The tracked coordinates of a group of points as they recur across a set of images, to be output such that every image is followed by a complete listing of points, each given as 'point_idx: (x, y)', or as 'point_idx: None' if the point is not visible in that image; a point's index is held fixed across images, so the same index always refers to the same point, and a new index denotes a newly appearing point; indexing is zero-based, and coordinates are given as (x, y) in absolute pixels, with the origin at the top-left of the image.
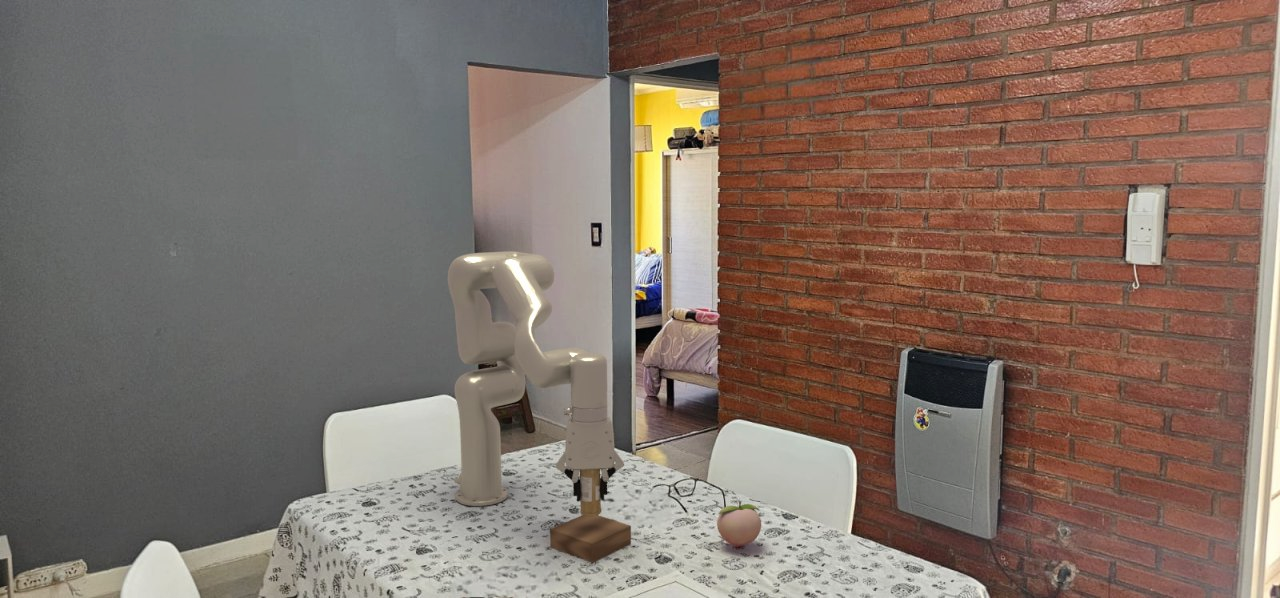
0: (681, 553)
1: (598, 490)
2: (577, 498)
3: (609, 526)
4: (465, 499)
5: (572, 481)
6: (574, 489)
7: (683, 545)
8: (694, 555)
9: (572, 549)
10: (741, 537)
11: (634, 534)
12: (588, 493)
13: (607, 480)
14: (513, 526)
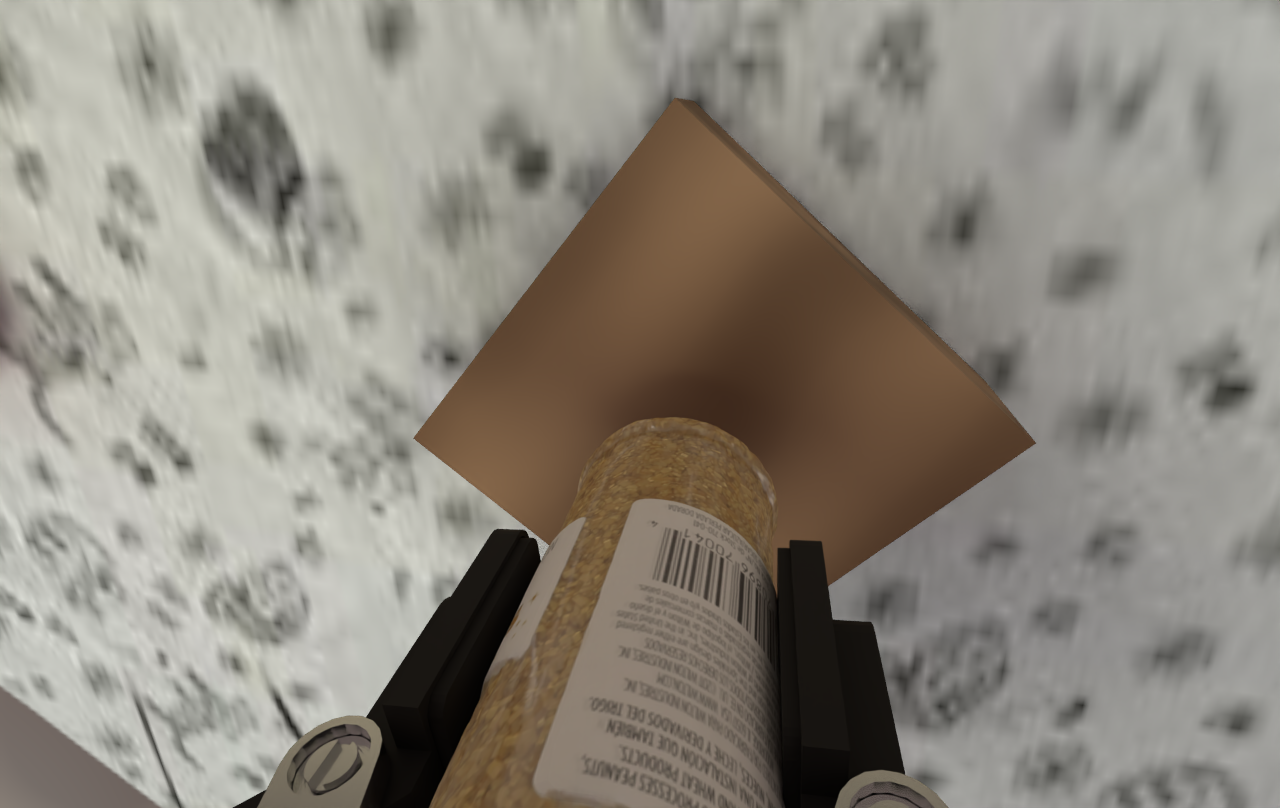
0: (176, 240)
1: (518, 613)
2: (816, 556)
3: (556, 441)
4: None
5: (939, 804)
6: (868, 687)
7: (194, 345)
8: (103, 208)
9: (839, 244)
10: None
11: (466, 503)
12: (658, 570)
13: (322, 729)
14: (1192, 692)
